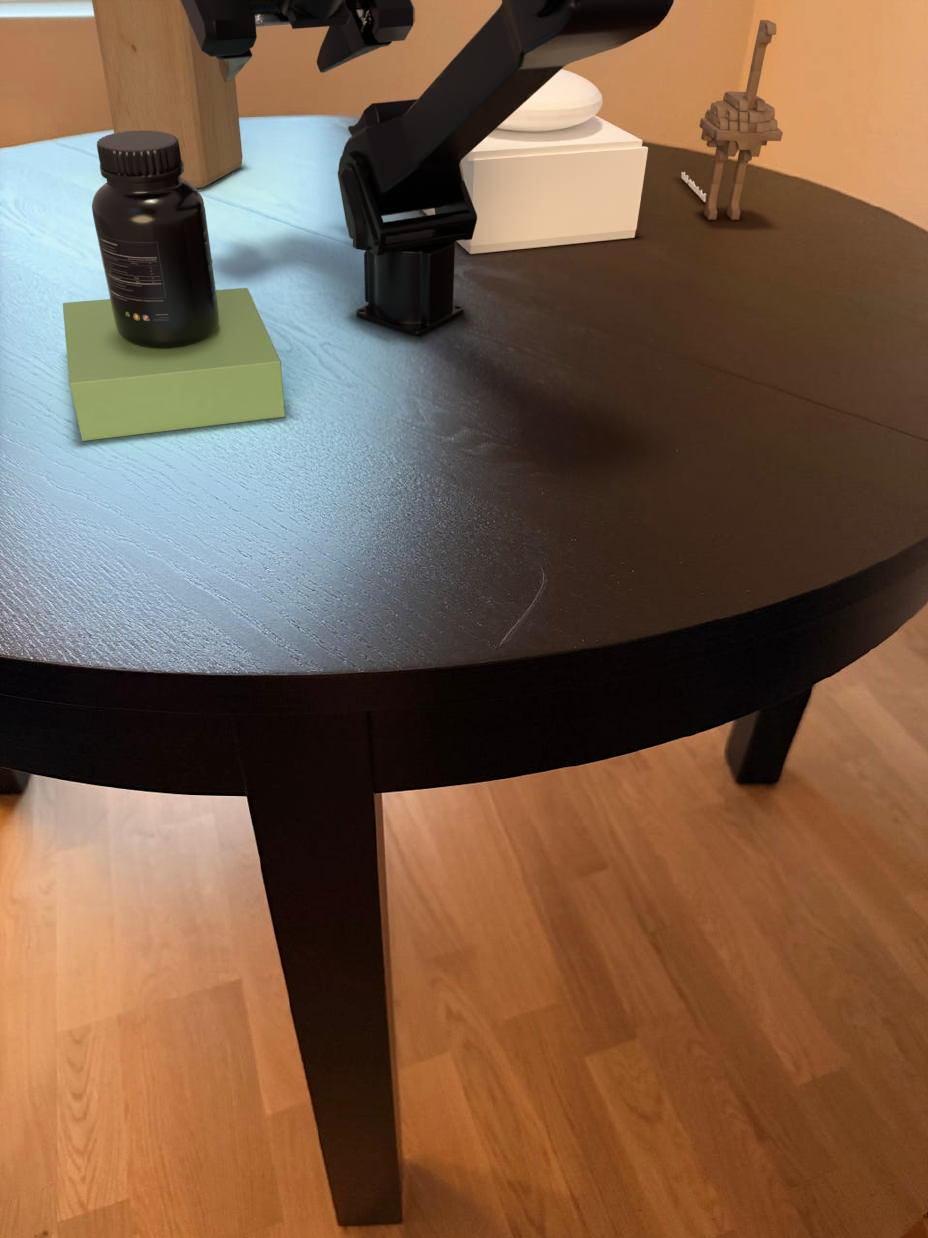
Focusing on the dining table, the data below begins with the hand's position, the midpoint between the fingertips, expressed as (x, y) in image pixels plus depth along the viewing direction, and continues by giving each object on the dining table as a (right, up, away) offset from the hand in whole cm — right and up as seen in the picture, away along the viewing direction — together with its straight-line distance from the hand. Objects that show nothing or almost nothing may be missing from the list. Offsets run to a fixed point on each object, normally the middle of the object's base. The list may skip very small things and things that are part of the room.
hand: (273, 71), depth 87 cm
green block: (-4, -31, -17) cm, 35 cm away
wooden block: (-14, +1, +22) cm, 26 cm away
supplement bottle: (-3, -28, -19) cm, 34 cm away
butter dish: (+22, -7, +15) cm, 27 cm away
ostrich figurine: (+43, -3, +21) cm, 48 cm away
